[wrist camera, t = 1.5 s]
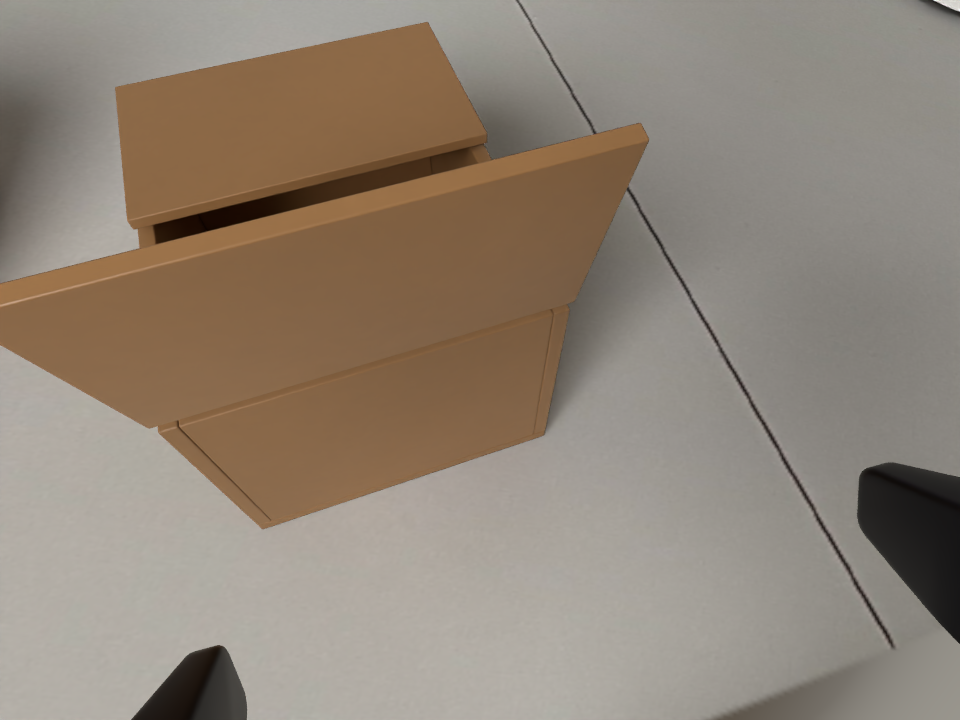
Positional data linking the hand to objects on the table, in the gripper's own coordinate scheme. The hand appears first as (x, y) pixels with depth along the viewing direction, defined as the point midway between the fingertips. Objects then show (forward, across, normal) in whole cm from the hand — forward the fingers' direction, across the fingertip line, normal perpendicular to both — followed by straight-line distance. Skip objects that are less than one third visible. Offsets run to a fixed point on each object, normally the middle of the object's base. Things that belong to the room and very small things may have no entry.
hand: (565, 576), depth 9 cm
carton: (+19, +3, +2) cm, 20 cm away
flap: (+6, +2, -3) cm, 7 cm away
